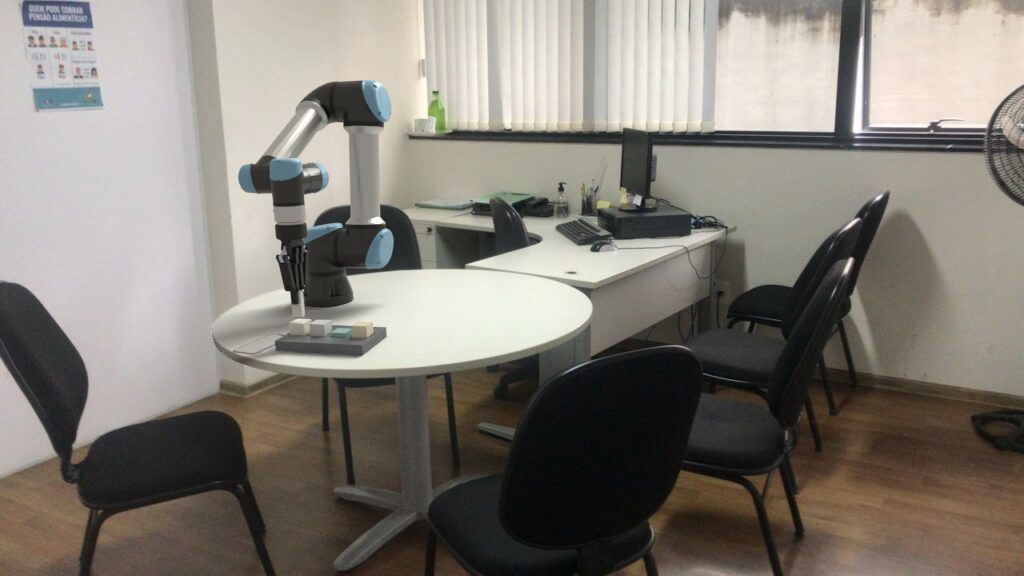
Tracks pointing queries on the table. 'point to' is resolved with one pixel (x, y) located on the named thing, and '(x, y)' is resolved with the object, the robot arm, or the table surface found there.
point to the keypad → (330, 342)
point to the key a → (299, 327)
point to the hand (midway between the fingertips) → (298, 315)
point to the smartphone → (259, 344)
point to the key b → (320, 328)
